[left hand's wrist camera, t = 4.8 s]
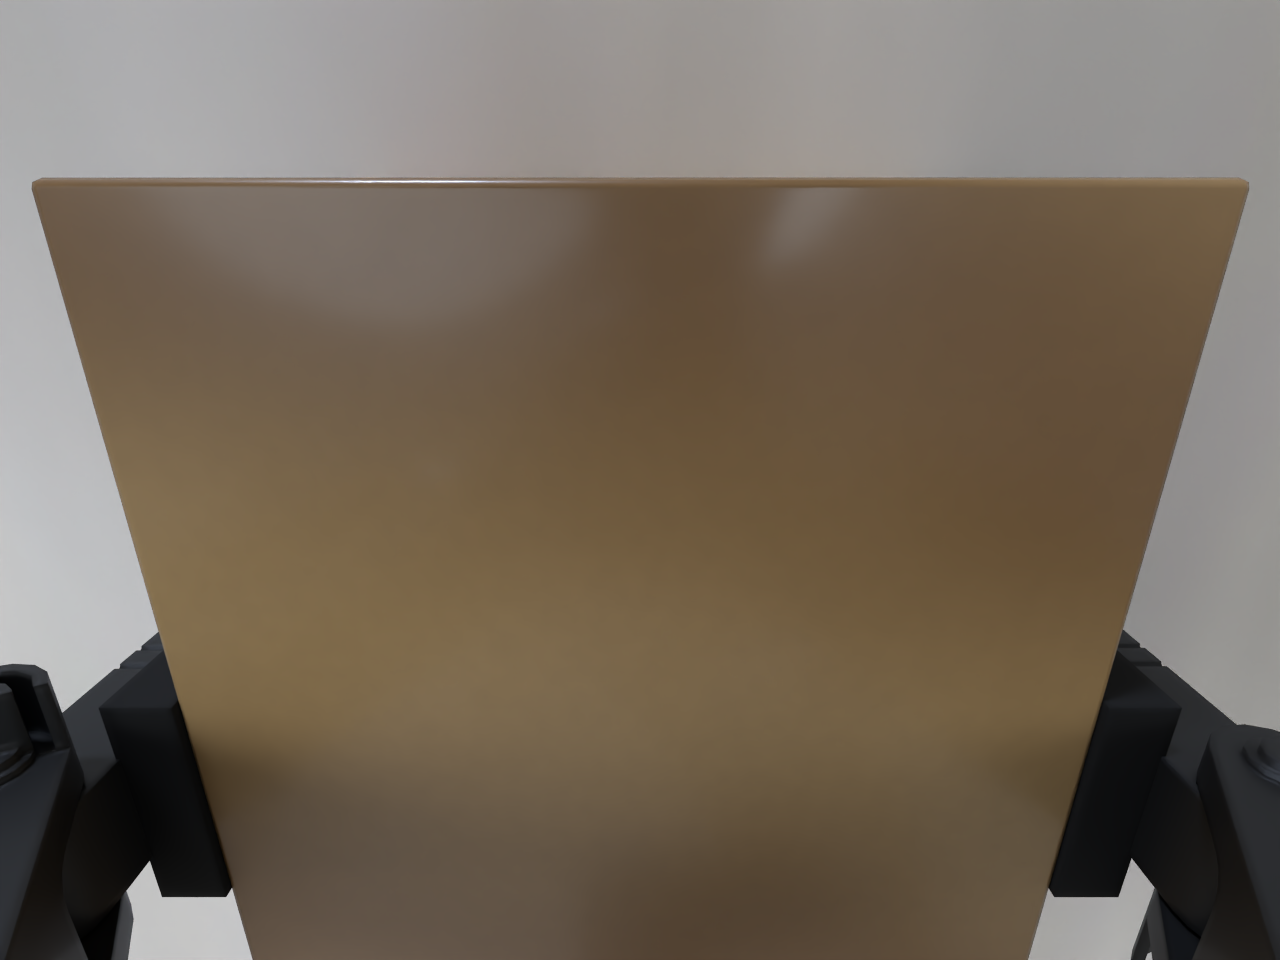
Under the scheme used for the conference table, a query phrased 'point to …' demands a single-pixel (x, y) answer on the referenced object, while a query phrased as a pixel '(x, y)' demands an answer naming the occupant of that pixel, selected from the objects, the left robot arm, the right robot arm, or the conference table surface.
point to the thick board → (640, 539)
